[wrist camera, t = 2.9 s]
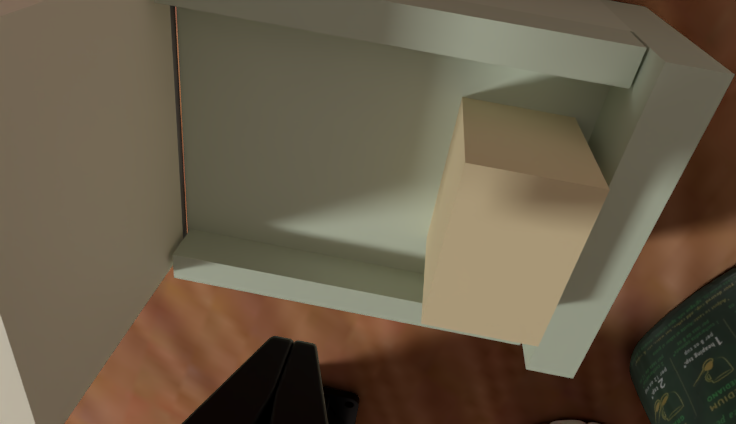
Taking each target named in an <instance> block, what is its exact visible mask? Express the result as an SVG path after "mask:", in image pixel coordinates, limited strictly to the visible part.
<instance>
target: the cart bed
mask: <svg viewBox="0 0 736 424" xmlns="http://www.w3.org/2000/svg"><path fill="white" fill-rule="evenodd" d="M154 3H160V4H165V5H171V6H176V7H177V24H178V44H179V63H180V83H181V103H182V122H183V142H184V162H185V181H186V201H187V221H188V233H187V235H186V236H185V238H184V239H183V240H182V242H181V243H180V245H179V246H178V247H177V249H176V250H175V252H174V253H173V268H174V278H179V279H184V280H189V281H194V282H199V283H204V284H209V285H214V286H220V287H225V288H230V289H235V290H240V291H245V292H250V293H255V294H260V295H265V296H271V297H276V298H281V299H286V300H291V301H296V302H301V303H306V304H311V305H316V306H322V307H327V308H332V309H337V310H342V311H347V312H352V313H357V314H362V315H367V316H373V317H378V318H383V319H388V320H393V321H398V322H403V323H408V324H413V325H418V326H423V327H429V328H434V329H439V330H444V331H449V332H454V333H459V334H464V335H469V336H474V337H480V338H485V339H490V340H495V341H500V342H505V343H510V344H515V345H520V343H517V342H511V341H506V340H501V339H496V338H491V337H486V336H481V335H476V334H471V333H465V332H460V331H455V330H450V329H445V328H440V327H435V326H430V325H425V324H421V317H422V302H423V286H424V270H425V255H426V239H427V235H428V231H429V227H430V223H431V219H432V215H433V211H434V207H435V203H436V199H437V195H438V191H439V187H440V183H441V179H442V175H443V171H444V167H445V163H446V159H447V155H448V151H449V147H450V143H451V139H452V135H453V131H454V127H455V123H456V119H457V115H458V111H459V107H460V103H461V100H462V97H466V98H471V99H477V100H482V101H487V102H493V103H498V104H504V105H509V106H515V107H520V108H525V109H531V110H536V111H542V112H547V113H553V114H558V115H564V116H569V117H574V118H576V120H577V122H578V125H579V127H580V129H581V131H582V133H583V135H584V137H585V139H586V141H587V143H588V145H589V147H590V150H591V152H592V154H593V156H594V158H595V160H596V162H597V164H598V166H599V168H600V170H601V172H602V174H603V177H604V179H605V181H606V183H607V185H608V187H609V189H610V191H609V193H608V195H607V197H606V199H605V202H604V204H603V206H602V208H601V210H600V213H599V215H598V217H597V219H596V221H595V223H594V226H593V228H592V230H591V232H590V234H589V237H588V239H587V241H586V243H585V245H584V248H583V250H582V252H581V254H580V256H579V259H578V261H577V263H576V265H575V267H574V269H573V272H572V274H571V276H570V278H569V280H568V283H567V285H566V287H565V289H564V291H563V294H562V296H561V298H560V300H559V302H558V305H557V307H556V309H555V311H554V313H553V315H552V318H551V320H550V322H549V324H548V326H547V329H546V331H545V333H544V335H543V337H542V340H541V342H540V344H539V346H538V347H537V346H532V345H527V344H522V346H523V352H524V359H525V366H526V369H527V370H532V371H537V372H542V373H547V374H552V375H557V376H562V377H567V378H572V379H573V378H574V376H575V374H576V372H577V370H578V368H579V366H580V365H581V363H582V361H583V359H584V357H585V355H586V353H587V351H588V350H589V348H590V346H591V344H592V342H593V340H594V338H595V336H596V334H597V333H598V331H599V329H600V327H601V325H602V323H603V321H604V319H605V318H606V316H607V314H608V312H609V310H610V308H611V306H612V304H613V303H614V301H615V299H616V297H617V295H618V293H619V291H620V289H621V288H622V286H623V284H624V282H625V280H626V278H627V276H628V274H629V273H630V271H631V269H632V267H633V265H634V263H635V261H636V259H637V257H638V256H639V254H640V252H641V250H642V248H643V246H644V244H645V242H646V241H647V239H648V237H649V235H650V233H651V231H652V229H653V227H654V226H655V224H656V222H657V220H658V218H659V216H660V214H661V212H662V211H663V209H664V207H665V205H666V203H667V201H668V199H669V197H670V196H671V194H672V192H673V190H674V188H675V186H676V184H677V182H678V181H679V179H680V177H681V175H682V173H683V171H684V169H685V167H686V165H687V164H688V162H689V160H690V158H691V156H692V154H693V152H694V150H695V149H696V147H697V145H698V143H699V141H700V139H701V137H702V135H703V134H704V132H705V130H706V128H707V126H708V124H709V122H710V120H711V119H712V117H713V115H714V113H715V111H716V109H717V107H718V105H719V104H720V102H721V100H722V98H723V96H724V94H725V92H726V90H727V88H728V87H729V85H730V83H731V81H732V79H733V77H734V75H735V74H733V73H732V72H731V71H729V70H728V69H727V68H726V67H724V66H723V65H722V64H720V63H719V62H718V61H716V60H715V59H714V58H712V57H711V56H710V55H708V54H707V53H706V52H704V51H703V50H702V49H700V48H699V47H698V46H696V45H695V44H694V43H693V42H691V41H690V40H689V39H687V38H686V37H685V36H683V35H682V34H681V33H679V32H678V31H677V30H675V29H674V28H673V27H671V26H670V25H669V24H667V23H666V22H665V21H664V20H662V19H661V18H660V17H658V16H657V15H656V14H654V13H653V12H652V11H650V10H649V9H648V8H646V7H644V6H639V5H633V4H627V3H622V2H616V1H611V0H154Z"/></svg>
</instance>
